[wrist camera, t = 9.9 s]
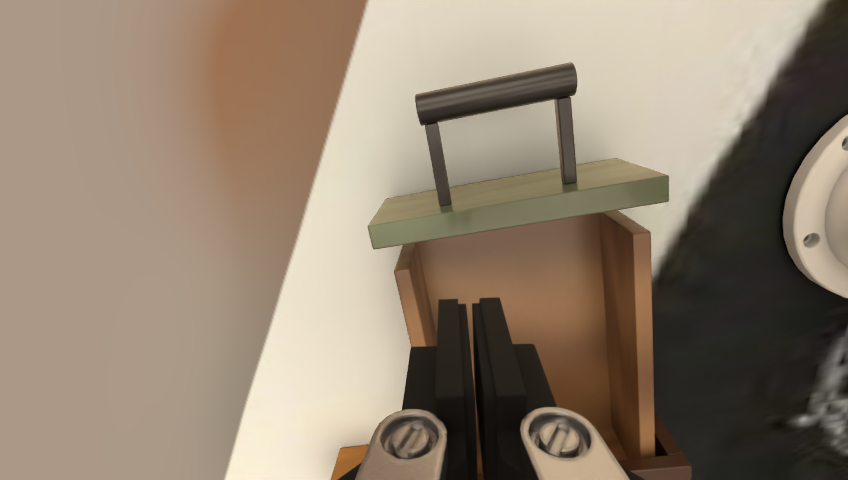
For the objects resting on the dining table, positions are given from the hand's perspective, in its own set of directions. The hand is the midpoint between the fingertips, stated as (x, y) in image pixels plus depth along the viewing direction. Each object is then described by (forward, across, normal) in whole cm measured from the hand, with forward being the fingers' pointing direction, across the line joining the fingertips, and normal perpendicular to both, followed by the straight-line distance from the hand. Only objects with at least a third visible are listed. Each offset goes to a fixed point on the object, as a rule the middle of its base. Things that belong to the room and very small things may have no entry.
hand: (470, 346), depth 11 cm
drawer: (+14, -3, +5) cm, 15 cm away
